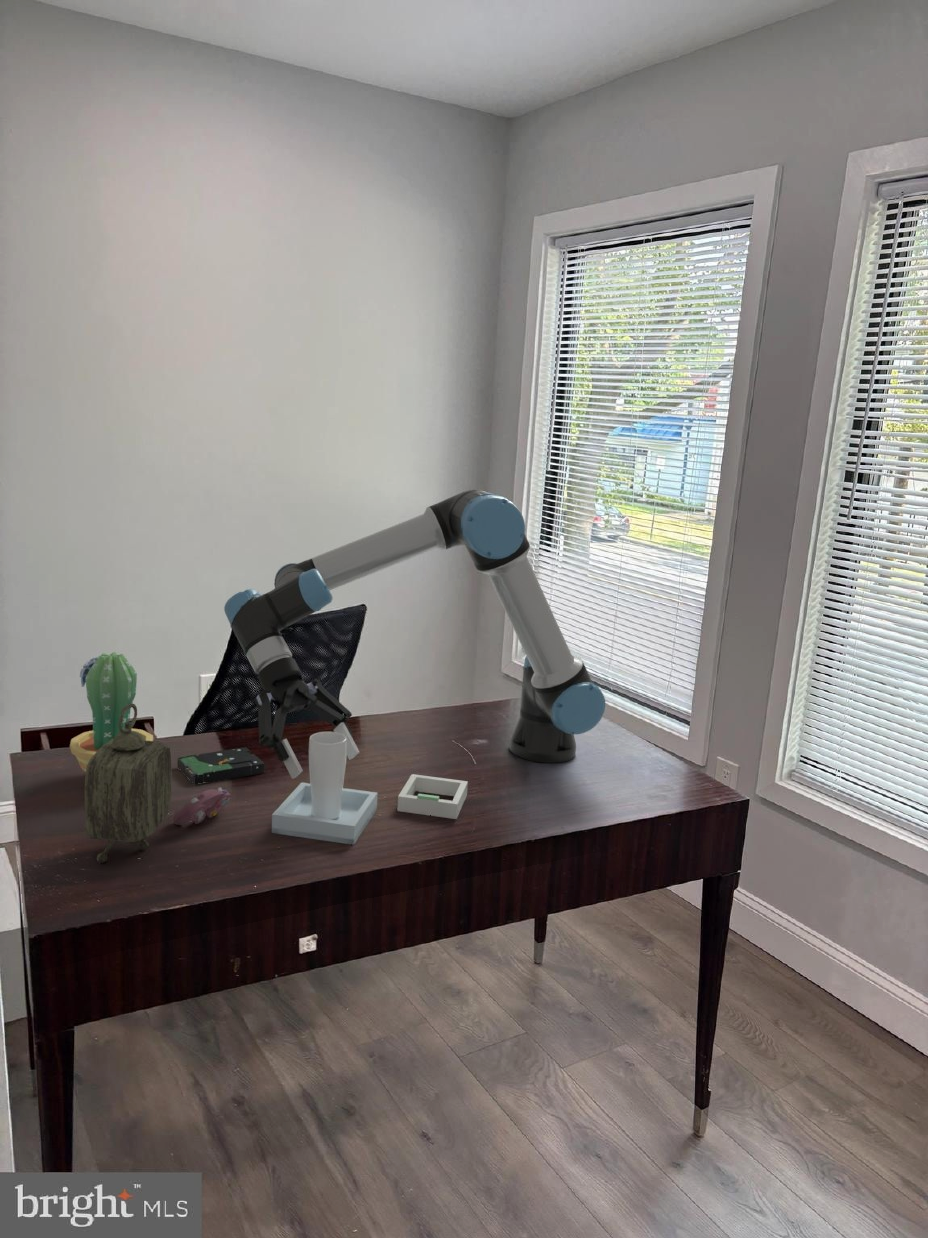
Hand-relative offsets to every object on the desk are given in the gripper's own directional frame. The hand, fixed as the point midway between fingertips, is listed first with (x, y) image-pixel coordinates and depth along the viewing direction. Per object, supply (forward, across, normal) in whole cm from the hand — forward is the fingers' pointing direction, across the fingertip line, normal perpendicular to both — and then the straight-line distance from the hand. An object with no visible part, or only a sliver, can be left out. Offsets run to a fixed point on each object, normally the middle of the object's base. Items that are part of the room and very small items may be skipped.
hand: (327, 765), depth 166 cm
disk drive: (-14, 0, -31) cm, 34 cm away
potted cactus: (-22, +18, -37) cm, 47 cm away
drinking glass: (+7, 0, -7) cm, 10 cm away
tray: (+8, 0, -8) cm, 11 cm away
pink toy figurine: (-3, +15, -19) cm, 24 cm away
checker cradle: (+13, -21, -2) cm, 25 cm away
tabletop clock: (-2, +30, -18) cm, 35 cm away
